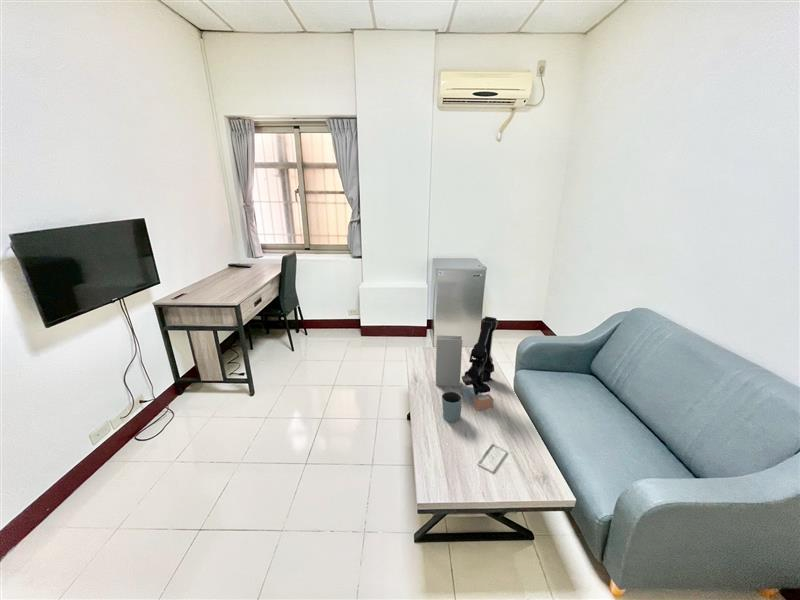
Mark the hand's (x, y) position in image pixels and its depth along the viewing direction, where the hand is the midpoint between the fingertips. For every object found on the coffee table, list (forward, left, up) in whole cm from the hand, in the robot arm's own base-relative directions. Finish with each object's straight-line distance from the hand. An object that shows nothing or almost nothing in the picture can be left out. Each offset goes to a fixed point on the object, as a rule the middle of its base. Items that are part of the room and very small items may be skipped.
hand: (476, 394), depth 183 cm
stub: (+8, 0, -2) cm, 8 cm away
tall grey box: (-18, -9, -2) cm, 20 cm away
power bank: (+41, -14, -3) cm, 44 cm away
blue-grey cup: (+11, -20, -2) cm, 23 cm away
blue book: (-2, 0, -2) cm, 3 cm away
